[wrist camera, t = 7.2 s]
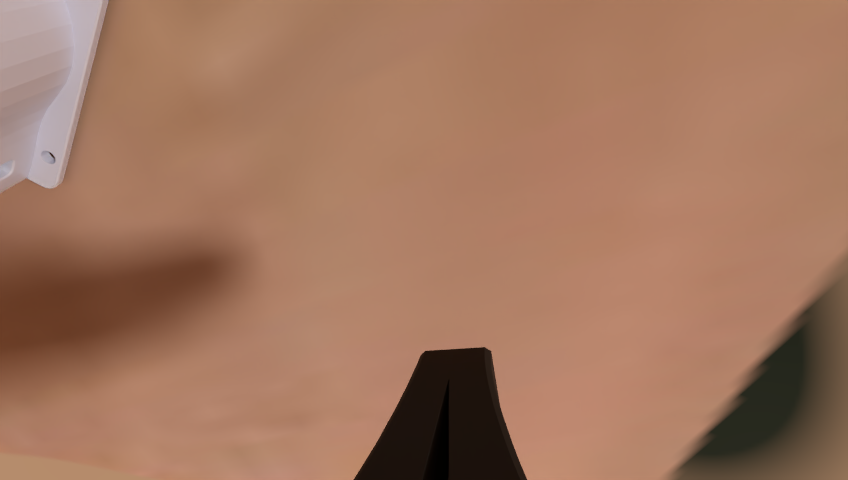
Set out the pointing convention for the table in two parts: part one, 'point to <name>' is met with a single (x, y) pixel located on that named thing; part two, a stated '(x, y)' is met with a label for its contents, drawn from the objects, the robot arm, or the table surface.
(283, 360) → the table surface
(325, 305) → the table surface
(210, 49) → the table surface
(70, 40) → the robot arm
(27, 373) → the table surface
